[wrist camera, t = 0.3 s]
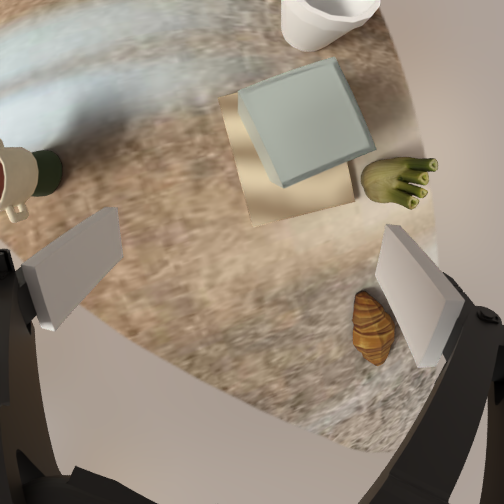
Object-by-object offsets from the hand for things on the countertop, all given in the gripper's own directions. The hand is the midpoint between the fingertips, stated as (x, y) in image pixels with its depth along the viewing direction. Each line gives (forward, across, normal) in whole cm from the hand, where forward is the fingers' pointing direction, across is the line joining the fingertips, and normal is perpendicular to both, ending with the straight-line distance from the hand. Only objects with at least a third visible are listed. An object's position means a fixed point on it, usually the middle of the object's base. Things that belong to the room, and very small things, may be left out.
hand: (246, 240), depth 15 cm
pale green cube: (+24, +2, +4) cm, 24 cm away
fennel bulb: (+26, +14, -1) cm, 30 cm away
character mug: (+21, -30, 0) cm, 36 cm away
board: (+25, +2, +2) cm, 25 cm away
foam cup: (+28, +4, +18) cm, 33 cm away
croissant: (+23, +16, -22) cm, 36 cm away
